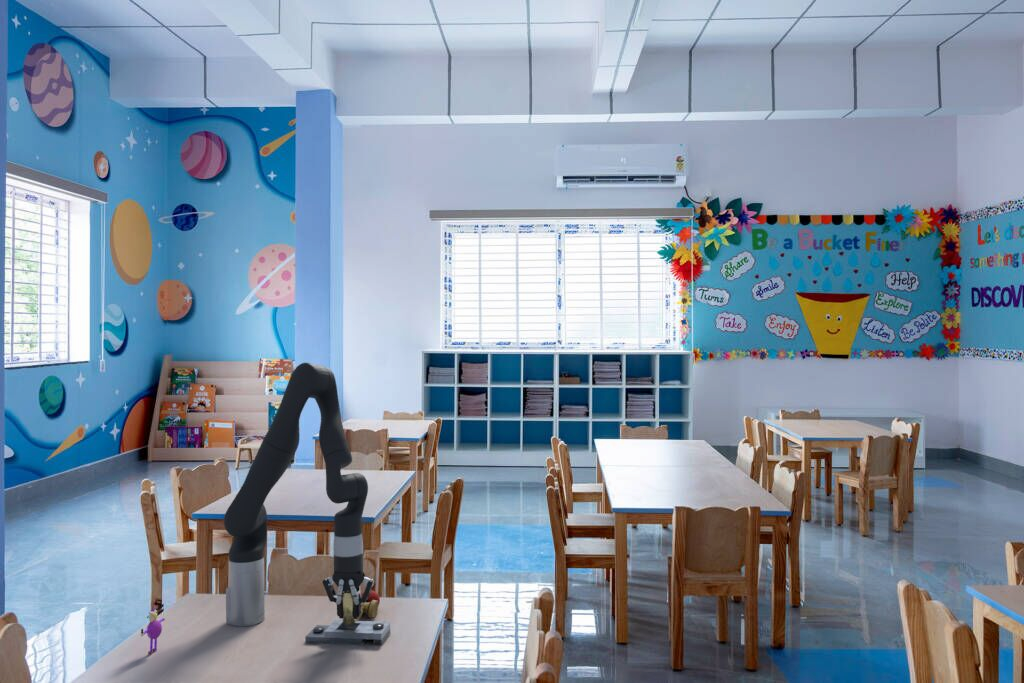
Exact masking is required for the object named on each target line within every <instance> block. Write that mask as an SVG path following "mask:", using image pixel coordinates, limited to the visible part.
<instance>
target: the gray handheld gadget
mask: <svg viewBox="0 0 1024 683" xmlns="http://www.w3.org/2000/svg"><path fill="white" fill-rule="evenodd" d="M390 635H391V622H390V621H373V620H370V621H369V620H366V621H365V620H359V621H356V622H355V623H353V624H343V619H340V620H339V619H335V620H333V621H332V623H330V625H326V624H317V625H315V626H314V627H313V629H311V630H310V631H309V632H308V633H307V634H306V636H305V643H307V644H311V643H312V644H335V645H353V646H356V645H358V646H359V645H360V646H362V645H364V644H365V642H366V641H367V640H373V646H383V645H384V643H385V642H386V641H387V639H388V637H389V636H390Z"/></svg>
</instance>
